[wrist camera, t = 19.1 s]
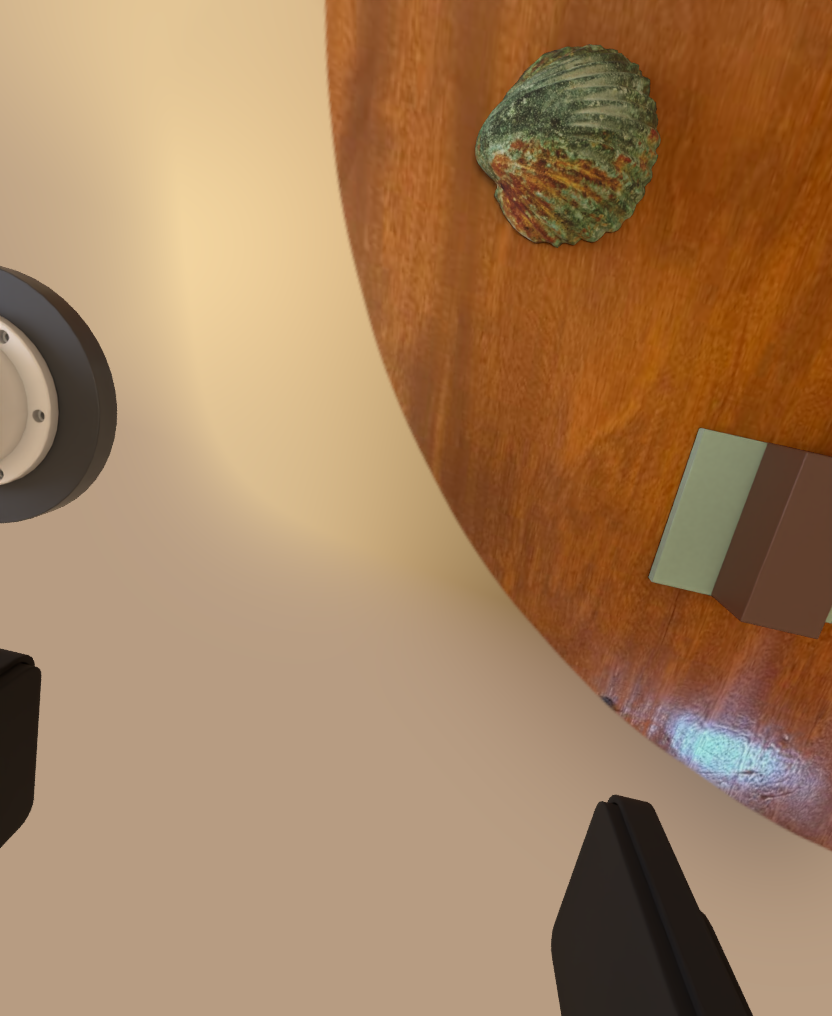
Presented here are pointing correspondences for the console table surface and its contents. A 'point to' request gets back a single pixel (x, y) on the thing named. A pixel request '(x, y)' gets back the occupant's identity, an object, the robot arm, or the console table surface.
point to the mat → (707, 511)
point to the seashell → (571, 145)
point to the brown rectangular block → (782, 546)
